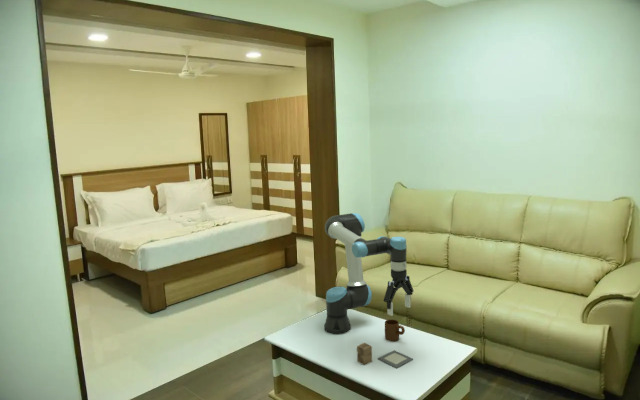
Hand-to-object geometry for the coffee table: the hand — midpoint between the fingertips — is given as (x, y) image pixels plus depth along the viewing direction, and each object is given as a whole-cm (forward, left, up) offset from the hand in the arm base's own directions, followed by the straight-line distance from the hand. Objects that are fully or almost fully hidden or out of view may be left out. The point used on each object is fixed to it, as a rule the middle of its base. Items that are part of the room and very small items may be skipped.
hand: (399, 310), depth 216 cm
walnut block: (-7, -17, -23) cm, 30 cm away
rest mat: (+2, -5, -23) cm, 23 cm away
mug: (-12, +11, -23) cm, 28 cm away
